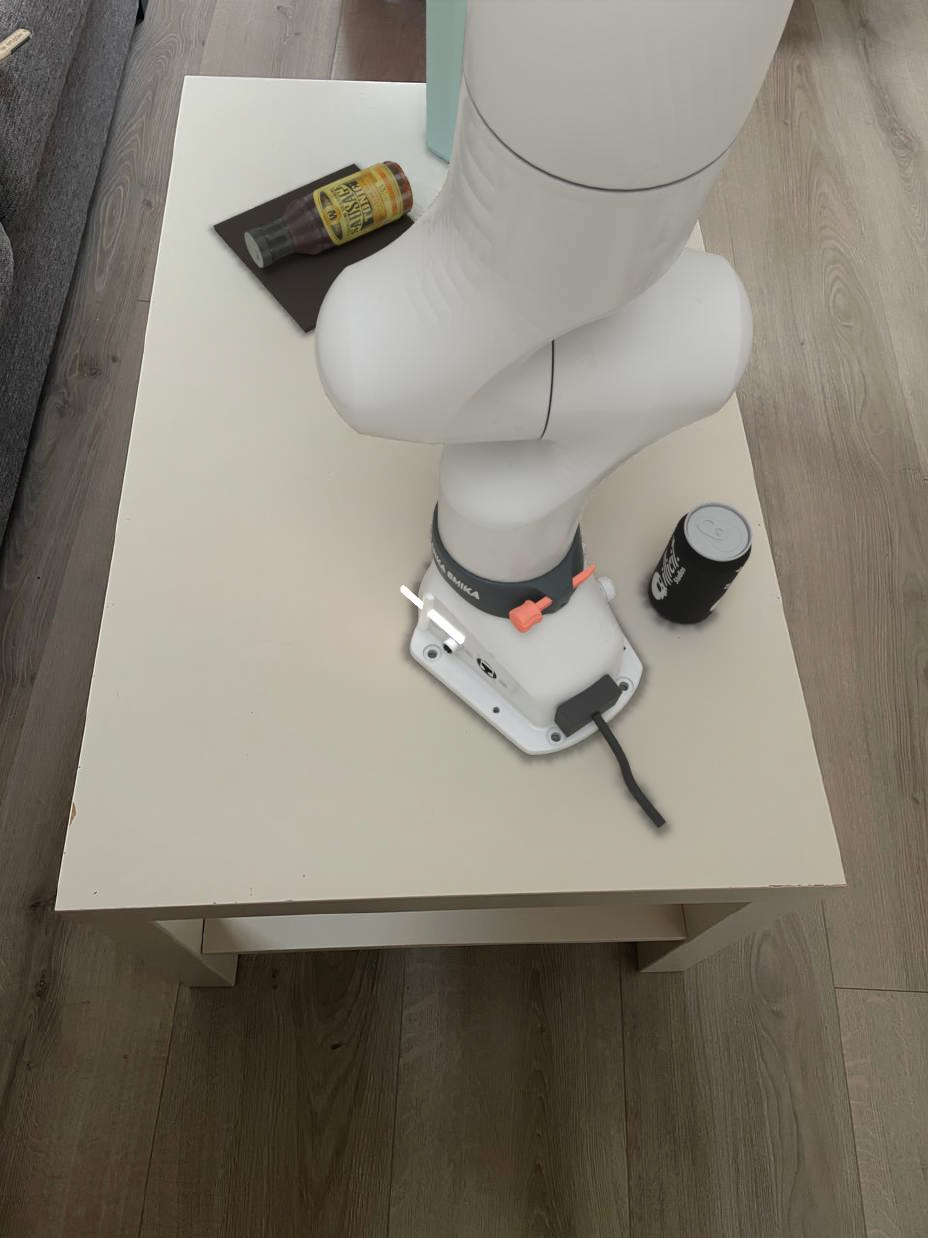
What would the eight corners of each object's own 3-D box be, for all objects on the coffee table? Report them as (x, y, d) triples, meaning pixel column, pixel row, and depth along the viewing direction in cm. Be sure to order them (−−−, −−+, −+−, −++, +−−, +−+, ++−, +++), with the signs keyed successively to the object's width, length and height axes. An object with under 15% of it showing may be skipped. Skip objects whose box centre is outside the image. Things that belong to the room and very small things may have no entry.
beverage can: (692, 640, 80) (734, 578, 69) (633, 601, 81) (665, 535, 71) (726, 592, 82) (772, 524, 72) (668, 555, 84) (704, 484, 73)
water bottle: (411, 130, 111) (407, -100, 89) (480, 112, 113) (494, -117, 91) (442, 177, 107) (447, -51, 85) (513, 158, 109) (536, -69, 87)
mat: (449, 260, 101) (449, 256, 100) (305, 332, 95) (305, 328, 94) (354, 167, 107) (354, 162, 107) (214, 229, 101) (213, 225, 101)
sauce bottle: (423, 207, 99) (277, 281, 94) (401, 215, 105) (262, 286, 99) (399, 148, 96) (247, 221, 91) (378, 159, 102) (233, 229, 96)
